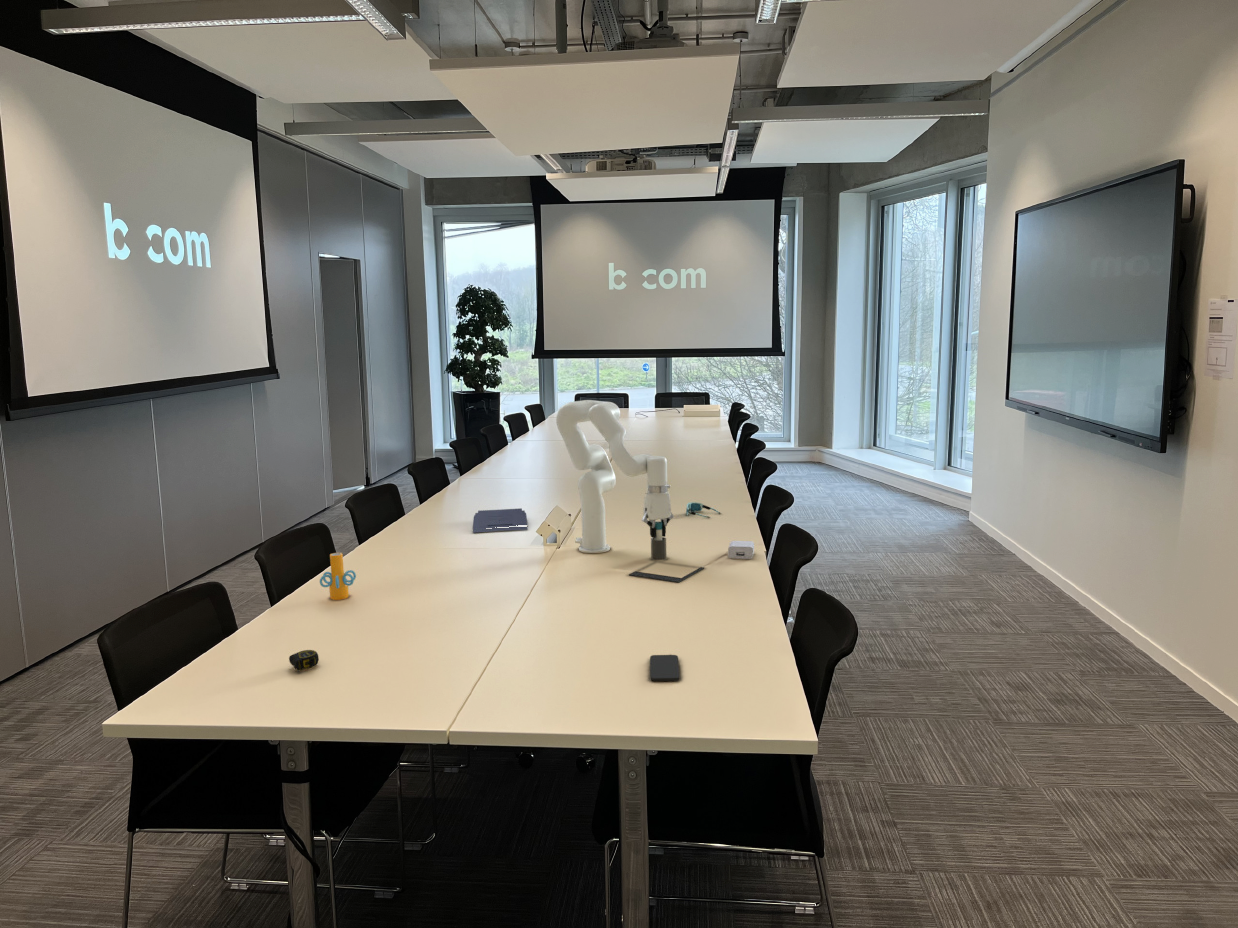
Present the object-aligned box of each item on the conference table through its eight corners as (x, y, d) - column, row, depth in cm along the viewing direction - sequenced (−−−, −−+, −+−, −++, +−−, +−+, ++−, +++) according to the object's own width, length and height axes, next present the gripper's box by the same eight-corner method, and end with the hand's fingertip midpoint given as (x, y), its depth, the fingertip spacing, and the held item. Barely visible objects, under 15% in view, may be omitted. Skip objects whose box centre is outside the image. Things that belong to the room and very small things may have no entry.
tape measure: (289, 666, 227) (287, 652, 226) (315, 660, 231) (314, 646, 230) (295, 674, 221) (294, 660, 221) (322, 667, 225) (321, 654, 224)
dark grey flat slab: (526, 513, 406) (525, 506, 405) (528, 535, 377) (527, 527, 376) (474, 516, 402) (474, 509, 401) (472, 538, 374) (472, 530, 373)
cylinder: (364, 594, 289) (361, 551, 287) (345, 603, 279) (341, 559, 277) (334, 591, 293) (331, 549, 291) (314, 600, 283) (310, 557, 281)
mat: (628, 575, 303) (628, 574, 303) (656, 561, 320) (656, 560, 320) (678, 582, 292) (678, 581, 292) (704, 568, 309) (704, 567, 309)
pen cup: (648, 560, 323) (648, 539, 321) (656, 556, 328) (655, 536, 326) (661, 561, 320) (661, 541, 318) (669, 558, 325) (668, 537, 323)
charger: (755, 549, 334) (752, 559, 320) (731, 548, 336) (728, 558, 322) (755, 537, 334) (752, 546, 319) (731, 536, 336) (728, 546, 321)
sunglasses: (695, 509, 410) (696, 499, 408) (722, 517, 401) (723, 507, 400) (680, 515, 398) (681, 505, 397) (707, 522, 390) (708, 512, 389)
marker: (652, 557, 323) (651, 522, 321) (656, 555, 326) (656, 521, 324) (659, 558, 321) (659, 523, 319) (664, 556, 324) (663, 522, 322)
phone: (650, 678, 210) (649, 654, 225) (650, 681, 211) (650, 657, 225) (680, 677, 210) (677, 654, 225) (680, 681, 210) (678, 657, 225)
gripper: (670, 485, 327) (671, 531, 329) (633, 489, 319) (634, 537, 322) (681, 488, 320) (681, 535, 323) (643, 493, 312) (644, 541, 315)
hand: (658, 536), depth 322 cm, fingers closed on marker, 3 cm apart
